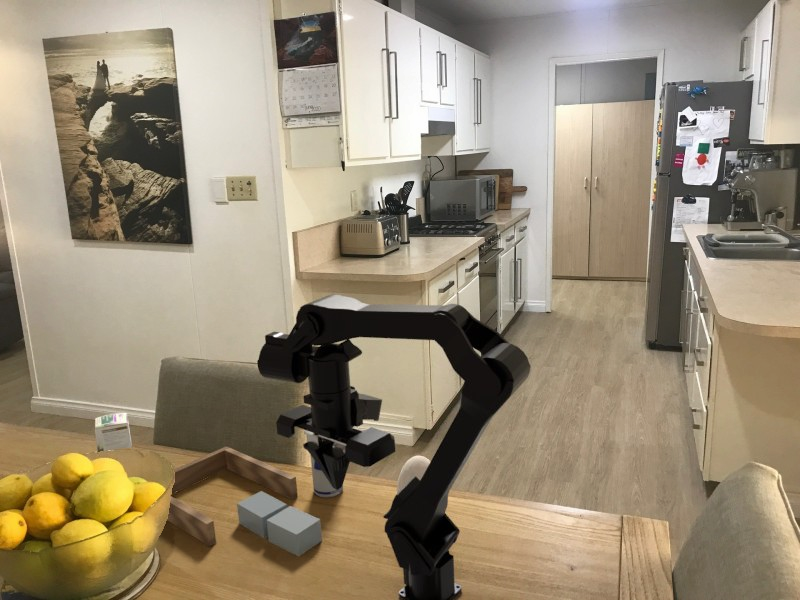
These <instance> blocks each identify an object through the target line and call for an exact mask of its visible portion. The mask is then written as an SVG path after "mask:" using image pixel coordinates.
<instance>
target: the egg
mask: <svg viewBox="0 0 800 600" xmlns="http://www.w3.org/2000/svg"><path fill="white" fill-rule="evenodd" d="M430 462H431V460H430V459H428V458H427V457H426V456H423V455H414V456H412V457H410V458H409V459H408V460H407V461H406V462H405V463H404V464H403V466H402V468H401V471H400V473H399V476H398V479H397V484H396V495H397V494H398V493H399V492H400V490H401V489H402V488H403V487H404V486H405V485H406V484H407V483H408V482H409V481H410V480H411V479H412V478H413V477H414V476H416V477H417V478H418V479H419V480H421V478H422V477H423V475H424V473H425V471H426V469H427V467H428V466H429V464H430Z"/></svg>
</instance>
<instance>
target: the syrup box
mask: <svg viewBox="0 0 800 600" xmlns="http://www.w3.org/2000/svg"><path fill="white" fill-rule="evenodd" d="M130 431H131V429H130V424H129V416H128V412H120V413H119V412H118V413H111V414H105V415H101V416H98V417H96V418H94V434H95V441H96V448H97V449H96V450H97V453H98V452H100V451H108V450H114V449H122V448H132V449H133V444H132V437H131V432H130Z"/></svg>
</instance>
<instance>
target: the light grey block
mask: <svg viewBox="0 0 800 600" xmlns="http://www.w3.org/2000/svg"><path fill="white" fill-rule="evenodd" d="M321 525H322V524H321V519H320V518H318V517H315V516H313V515H312V514H309V513H306V512H305V511H303V510H300V509H297V508H295V507H294V506H291V505H289V506H287V508H286V509H284V510H283V511H281V512H279V513H278V514H276V515H274V516H273V517H271V518H269V519H268V520H267V529H268V537H267V538H268V542H269V543H271V544H273V545H276V546H277V547H279V548H281V549H283V550H285V551H287V552H289V553H291V554H293V555H295V556H297V557H300V556H302V555H303V554H305V553H306V552H307V551H309V550H310V549H312V548H314V547H315V546H317V544H319V543H321V542H322V541H323V537H322V527H321Z"/></svg>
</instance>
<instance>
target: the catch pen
mask: <svg viewBox="0 0 800 600" xmlns="http://www.w3.org/2000/svg"><path fill="white" fill-rule="evenodd" d="M173 470H174V472H175V483H174V485H173V488H172V495H175V494H176V493H175V492H176V491H179V490H181V489H183V490H185V489H187V488H189V487H191V486H194V485H195V483H196V484H198V483H200V482H202V481H204V480H206V479H208V478H210V477H212V475H213V476H214V474H215V475H217V474H219V473H221V472H223V471H225V470H229V471H231V472H233V473H236V474H237V475H239V476H242V477H243V478H246V479H248V480H251V481H252V482H255V483H256V484H258V485H260V486H263V487H265V488H267V489H269V490H271V491H273V492H275V493H277V494H280V495H282V496H284V497H286V498H288V499H291V500H294V499H297V498H298V486H297V476H296V475H293V474H290V473H289V472H286V471H284V470H281V469H279V468H277V467H275V466H272V465H270V464H267V463H265V462H263V461H262V460H259V459H256V458H254V457H252V456H250V455H247V454H245V453H242V452H240V451H238V450H236V449H234V448H231V447H229V446H224V447H222V448H219V449H217V450H215V451H213V452H210V453H208V454H206V455H204V456H201V457H199V458H197V459H194V460H192V461H189V462H187V463H186V464H184V465H181V466H179V467H177V468H174V469H173ZM220 471H221V472H220ZM218 472H219V473H218ZM209 476H210V477H209ZM207 477H208V478H207ZM205 478H206V479H205ZM203 479H204V480H203ZM201 480H202V481H201ZM199 481H200V482H199ZM197 482H198V483H197ZM193 484H194V485H193ZM188 486H189V487H188ZM184 488H185V489H184ZM181 491H182V490H181ZM179 492H180V491H179ZM174 493H175V494H174ZM167 521H169V522H170V523H171V524H173V525H174V526H176V527H178V528H179V529H181V530H183V531H184V532H186V533H188V535H191V536H193V537H194V538H195V539H198V540H199V541H201V542H202V543H204V544H205V545H207V546H209V547H211V546H213V545H215V544H216V543H217V538H216V531H215V522H214V519H211V518H210V517H208V516H206V515H205V514H202V513H201V512H200V511H197V510H195V509H194V508H192V507H190V506H188V505H187V504H185V503H183V502H182V501H180V500H178V498H177V499H176V498H175V497H173V496H171V501H170V508H169V514H168V520H167Z"/></svg>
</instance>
